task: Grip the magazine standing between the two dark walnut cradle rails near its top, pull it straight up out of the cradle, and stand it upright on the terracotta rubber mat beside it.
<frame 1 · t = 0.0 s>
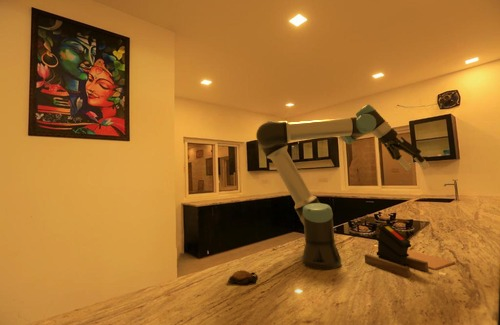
hand: (417, 168, 107), 36 cm above the countertop, tool tilted 35°, fingers open, 13 cm apart
magazine: (394, 267, 88), on the countertop
mat: (419, 259, 94), on the countertop
brown toy turtle: (242, 282, 85), on the countertop
cradle: (394, 266, 88), on the countertop
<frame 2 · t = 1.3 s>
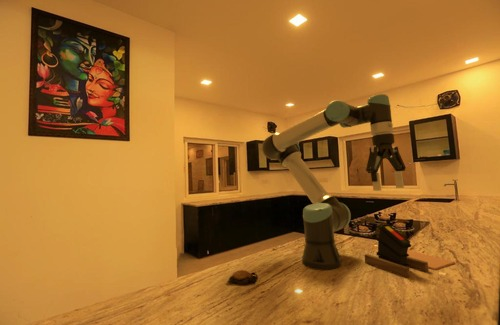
hand: (389, 189, 91), 29 cm above the countertop, tool pointing down, fingers open, 13 cm apart
nothing on the countertop moved.
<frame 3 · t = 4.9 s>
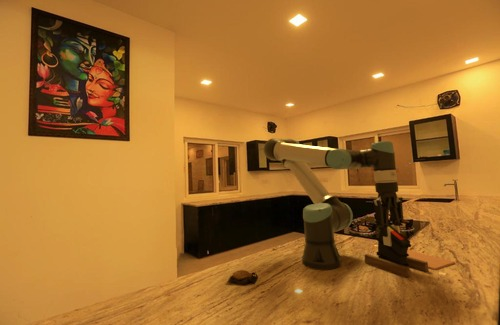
hand: (392, 244, 89), 8 cm above the countertop, tool pointing down, fingers closed on magazine, 4 cm apart
magazine: (394, 267, 88), on the countertop, touching gripper
everything else where it was.
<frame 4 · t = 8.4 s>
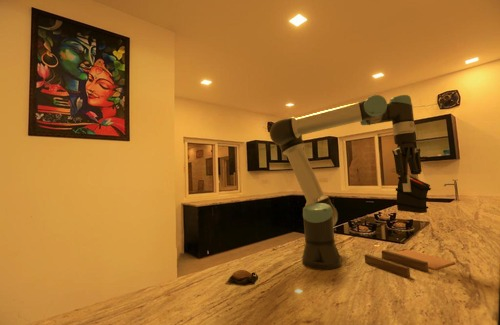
hand: (411, 191, 95), 27 cm above the countertop, tool pointing down, fingers closed on magazine, 4 cm apart
magazine: (414, 212, 94), point 19 cm above the countertop, touching gripper
everything else where it was.
when the fingers open (10 cm above the countertop, at t = 12.2 s): magazine drops 1 cm, resting on mat.
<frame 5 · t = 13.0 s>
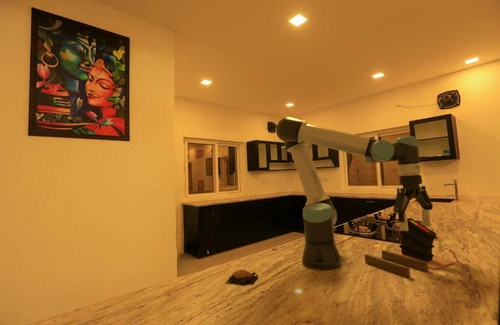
hand: (415, 228, 94), 12 cm above the countertop, tool pointing down, fingers open, 13 cm apart
magazine: (419, 258, 94), resting on mat
everything else where it was.
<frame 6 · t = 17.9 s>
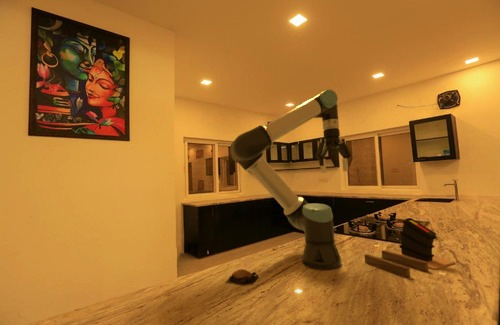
hand: (335, 172, 116), 37 cm above the countertop, tool pointing down, fingers open, 13 cm apart
nothing on the countertop moved.
at the end: magazine inside the target area on the mat (0.0 cm from its centre), point 0.4 cm above the mat's base; magazine tilted 0°; magazine touching mat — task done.
